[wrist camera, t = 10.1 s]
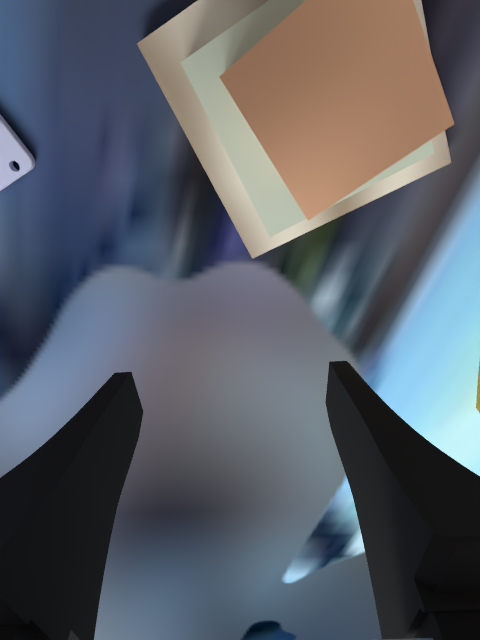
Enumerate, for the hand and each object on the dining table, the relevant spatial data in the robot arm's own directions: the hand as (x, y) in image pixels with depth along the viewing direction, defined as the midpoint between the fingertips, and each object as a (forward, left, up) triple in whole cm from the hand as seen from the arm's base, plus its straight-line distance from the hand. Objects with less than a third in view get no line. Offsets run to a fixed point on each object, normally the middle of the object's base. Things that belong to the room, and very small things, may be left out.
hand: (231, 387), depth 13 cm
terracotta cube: (+7, +6, -7) cm, 12 cm away
